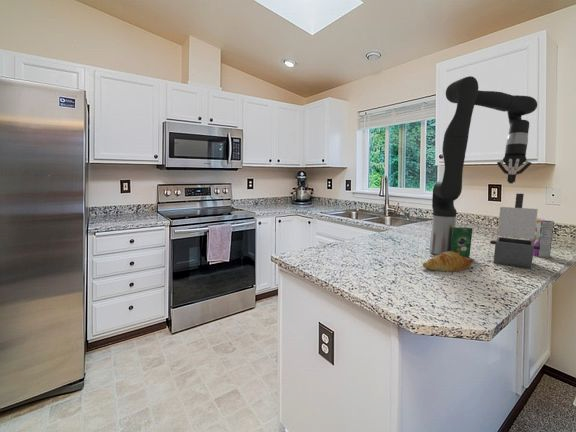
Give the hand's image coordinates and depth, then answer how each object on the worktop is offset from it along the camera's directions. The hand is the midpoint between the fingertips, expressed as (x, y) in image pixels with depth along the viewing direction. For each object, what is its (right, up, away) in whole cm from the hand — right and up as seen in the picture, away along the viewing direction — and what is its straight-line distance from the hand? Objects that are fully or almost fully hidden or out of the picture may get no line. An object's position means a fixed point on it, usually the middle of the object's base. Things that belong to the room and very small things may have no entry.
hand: (510, 183), depth 135 cm
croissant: (-39, -35, -20) cm, 56 cm away
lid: (-4, -15, -9) cm, 18 cm away
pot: (-8, -34, -12) cm, 37 cm away
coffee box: (-25, -33, -4) cm, 41 cm away
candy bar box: (+13, -32, +2) cm, 35 cm away
